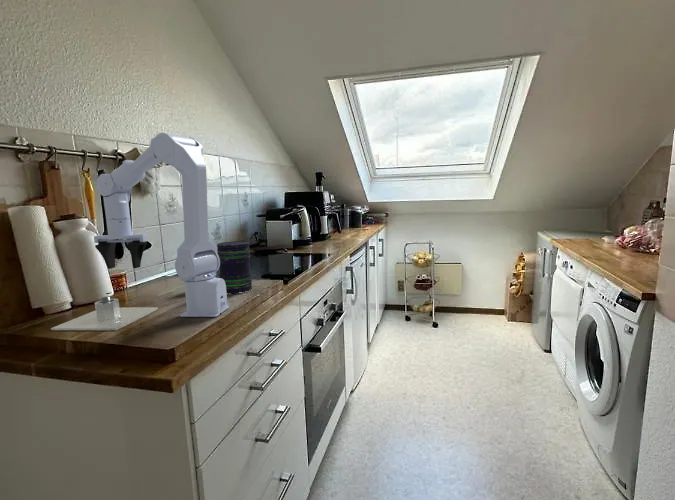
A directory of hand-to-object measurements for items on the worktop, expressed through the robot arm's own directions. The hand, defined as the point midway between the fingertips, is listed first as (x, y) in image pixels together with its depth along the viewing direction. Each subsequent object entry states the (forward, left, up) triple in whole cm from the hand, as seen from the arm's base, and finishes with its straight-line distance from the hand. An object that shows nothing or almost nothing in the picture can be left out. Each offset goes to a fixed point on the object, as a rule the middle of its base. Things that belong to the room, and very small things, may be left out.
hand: (124, 267), depth 104 cm
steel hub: (-4, +13, -10) cm, 17 cm away
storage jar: (-26, -15, -11) cm, 32 cm away
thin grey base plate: (-4, +13, -10) cm, 17 cm away
